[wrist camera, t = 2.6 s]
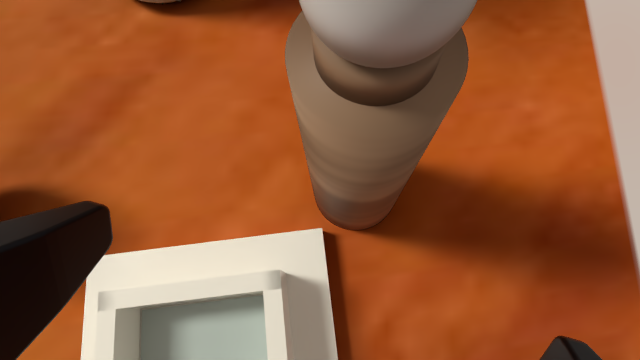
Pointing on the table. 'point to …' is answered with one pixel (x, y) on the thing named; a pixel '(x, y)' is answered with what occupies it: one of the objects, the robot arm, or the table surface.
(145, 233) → the table surface
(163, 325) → the mill stand
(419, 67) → the pepper mill
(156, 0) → the bottle
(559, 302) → the table surface
